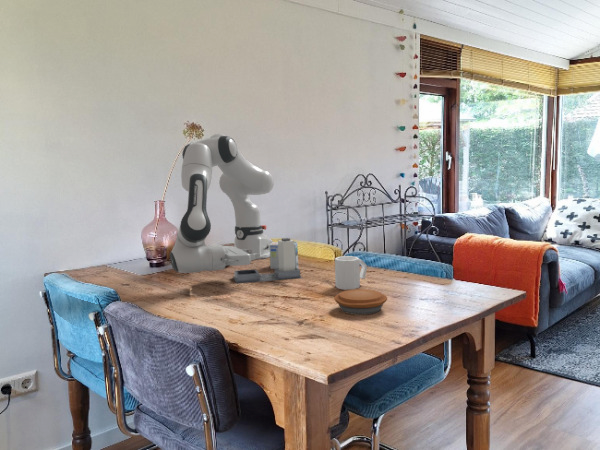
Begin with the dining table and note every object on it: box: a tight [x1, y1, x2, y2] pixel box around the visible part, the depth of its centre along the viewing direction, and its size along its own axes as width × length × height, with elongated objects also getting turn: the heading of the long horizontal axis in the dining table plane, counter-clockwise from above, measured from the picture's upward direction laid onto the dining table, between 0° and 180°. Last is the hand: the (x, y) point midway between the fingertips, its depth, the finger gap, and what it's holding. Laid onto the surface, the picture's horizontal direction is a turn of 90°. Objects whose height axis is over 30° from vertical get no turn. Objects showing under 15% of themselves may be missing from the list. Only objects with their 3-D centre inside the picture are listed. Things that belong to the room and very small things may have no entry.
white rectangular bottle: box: [277, 237, 295, 271], centre depth 208 cm, size 4×4×14 cm
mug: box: [334, 255, 368, 291], centre depth 194 cm, size 12×9×10 cm
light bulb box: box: [269, 241, 299, 270], centre depth 224 cm, size 11×7×11 cm, turn 84°
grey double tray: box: [232, 266, 303, 285], centre depth 207 cm, size 24×12×4 cm, turn 103°
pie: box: [333, 288, 388, 315], centre depth 165 cm, size 15×16×5 cm
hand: (255, 253), depth 203 cm, fingers open, 8 cm apart
